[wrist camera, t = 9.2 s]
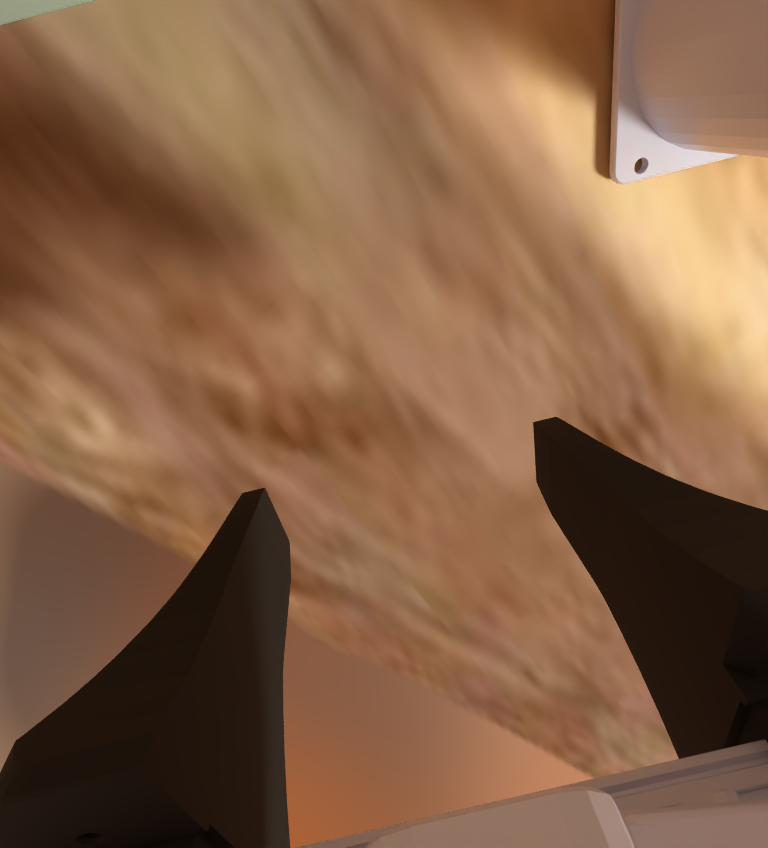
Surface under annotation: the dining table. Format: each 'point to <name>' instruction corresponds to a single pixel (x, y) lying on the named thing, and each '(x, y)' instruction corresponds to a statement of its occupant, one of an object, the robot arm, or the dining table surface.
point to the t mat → (32, 8)
